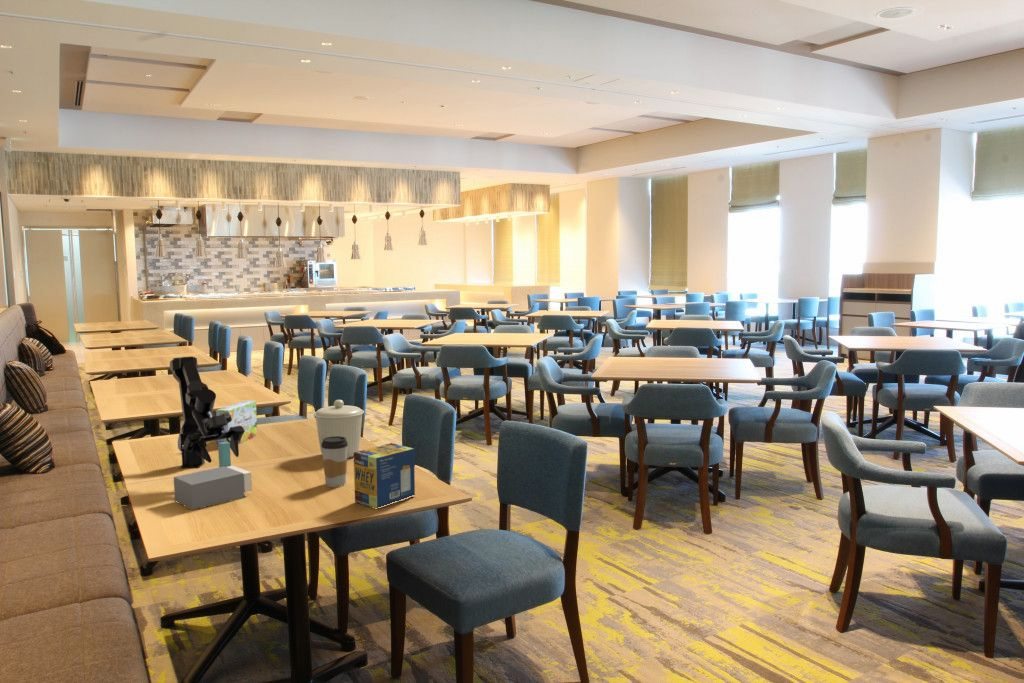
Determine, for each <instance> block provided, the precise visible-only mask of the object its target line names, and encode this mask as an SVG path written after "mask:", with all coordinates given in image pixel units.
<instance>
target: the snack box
mask: <svg viewBox="0 0 1024 683" xmlns="http://www.w3.org/2000/svg"><path fill="white" fill-rule="evenodd" d="M215 412H216V413H215V414H216V415H215V416H219V415H222V414H224V413H227V412H229V414H230V415H231V418H232V421H231V422H229V423H228V424H227V425H225V426H224V430H222V433H225V432H228V431H229V429H230V427H234V426H242V427H243V428H244V430H245V432H244V434H243V435H242V437H241V439H240V440H239V441H238V445H239V444H241V442H242V443H244V442H246V441H249V440H251V439H253V437H254V436H256V435H257V436H258V426H257V425H258V424H257V422H258V419H257V401H256V400H243V401H240V402H237V403H233V404H231V405H228V406H224V407H221V408H218V409H215ZM257 436H256V437H257ZM250 438H251V439H250ZM254 438H255V437H254ZM248 439H249V440H248ZM224 441H226V442H228V441H227V439H221V440H216V448H218V443H219V442H224Z"/></svg>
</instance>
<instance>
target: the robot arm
mask: <svg viewBox="0 0 1024 683" xmlns="http://www.w3.org/2000/svg"><path fill="white" fill-rule="evenodd" d="M198 366H199V365H198V358H197V357H195V356H181V357H173V358H172V360H170V361H169V369H170V372H172V376H173V378H174V379H175V380H176V382H177V383H178V388H179V394H180V403H181V404H180V405H181V412H182V419H183V424H182V426H181V428H180V429H179V434H178V439H177V449H178V450H179V451H180V452H181V465H180V468H181V467H188V468H200V467H201V466H202V465H204V464H205V463H206V462H207V463H212V456H211V455H210V454H209V451H208V450H207V448H206V447H207V443H208V442H215V441H216V442H217V440H221V439H227V441H228V442H229V443H230V451H232V453H233V455H234V456H235V457H236V458H239V456H240V452H239V444H238V441H239V440H240V439H241V437H242V435H243V434H244V432H245V430H244V428H243V427H242V426H234V427H230V429H229V431H228V432H225V433H222V430H224V426H225V425H227V424H228V423H229V422H231V421H232V418H231V415H230V414H229V412H227V413H224V414H222V415H219V416H216V415H214V413H213V410H214V408H215V403H216V399H217V394H216V392H215V391H214V390H212V389H210V388H209V386H208V385H207V384H206V383H204V382H203V381H202V379H201V377H200V373H199V370H198V369H199V368H198Z"/></svg>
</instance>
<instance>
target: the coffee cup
mask: <svg viewBox="0 0 1024 683" xmlns="http://www.w3.org/2000/svg"><path fill="white" fill-rule="evenodd" d="M347 446H348V444H347V441H346V438H345V437H341V436H334V437H327V438H324V439H323V442H322V446H321V447H322V452H323V454H322V464H323V473H324V480H325V481H324V482H325V485H326V486H327V487H329V486H330V487H329V488H338V487H337V486H340V487H342V486H341V485H343V486H345V485H346V483H347V469H348V468H347V466H348V458H347ZM322 452H321V453H322ZM344 484H345V485H344Z"/></svg>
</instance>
